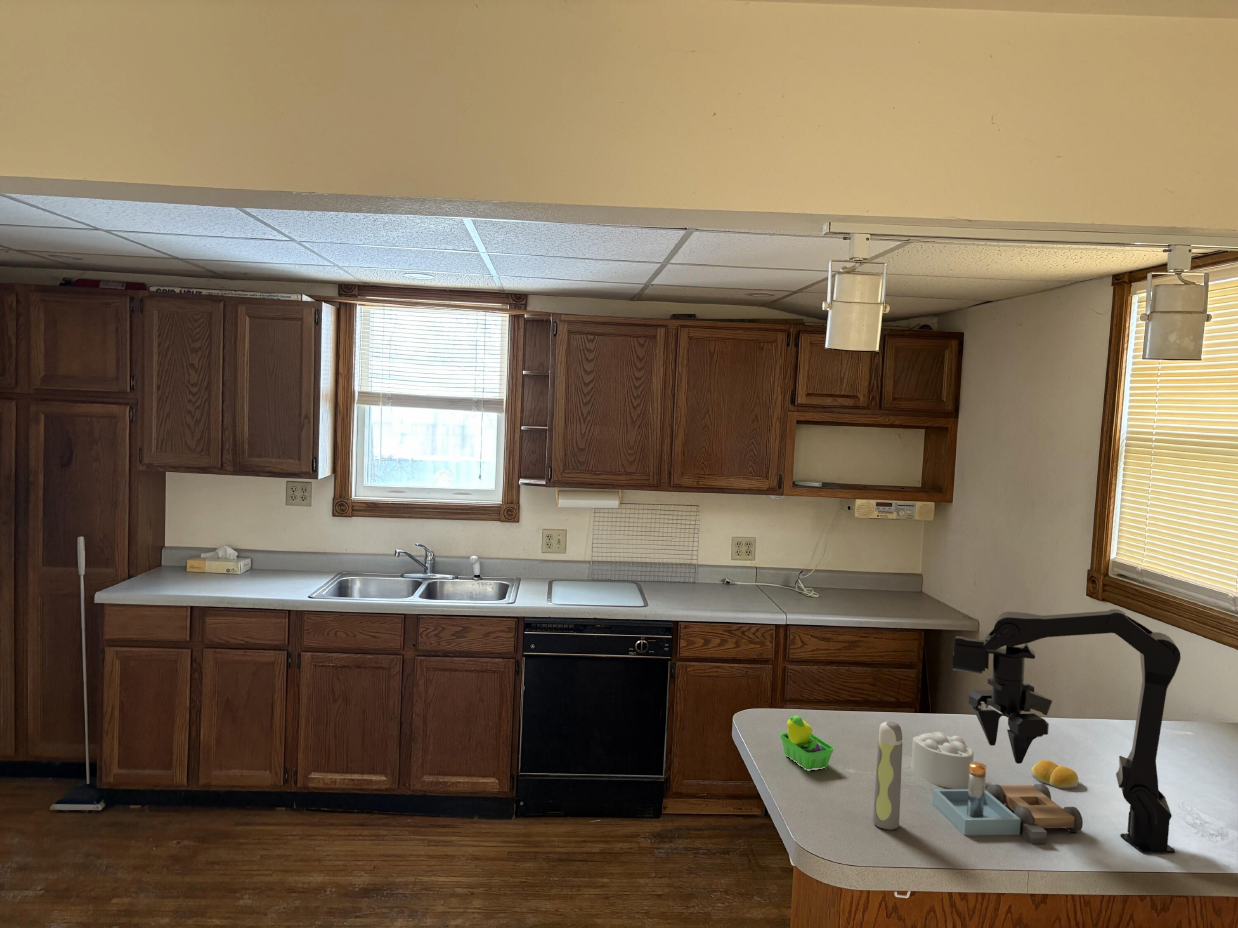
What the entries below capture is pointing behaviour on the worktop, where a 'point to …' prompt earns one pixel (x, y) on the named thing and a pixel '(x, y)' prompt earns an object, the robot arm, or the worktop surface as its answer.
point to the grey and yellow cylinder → (888, 776)
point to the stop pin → (976, 790)
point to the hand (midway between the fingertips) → (1005, 753)
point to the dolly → (1036, 810)
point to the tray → (992, 823)
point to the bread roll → (1054, 774)
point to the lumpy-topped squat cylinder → (942, 759)
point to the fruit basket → (805, 745)
